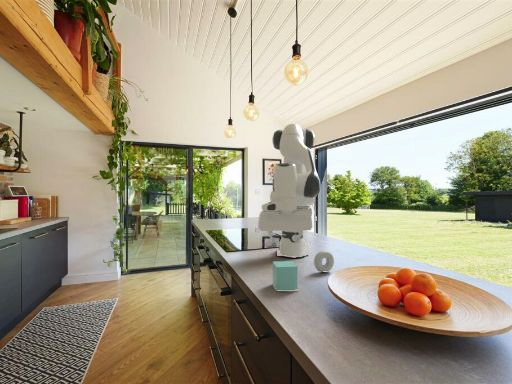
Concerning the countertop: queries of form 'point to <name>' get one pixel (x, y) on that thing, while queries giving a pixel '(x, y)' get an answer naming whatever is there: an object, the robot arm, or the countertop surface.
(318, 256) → the donut
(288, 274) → the teal cube
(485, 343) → the countertop surface
